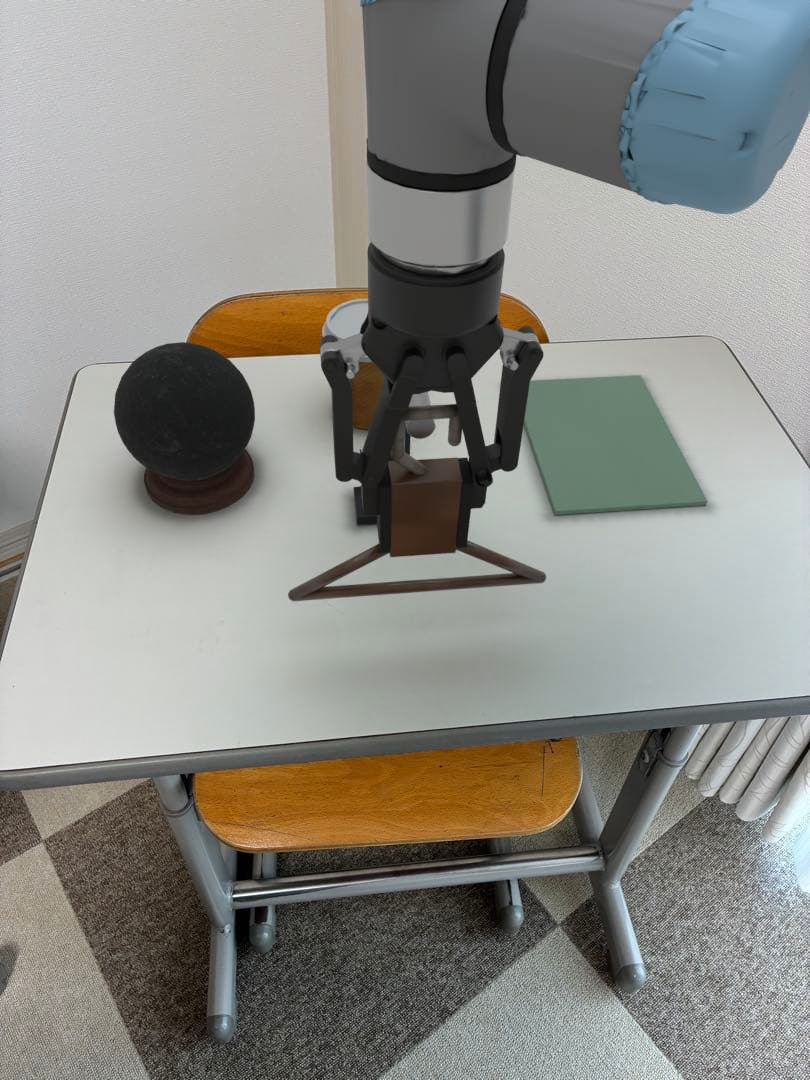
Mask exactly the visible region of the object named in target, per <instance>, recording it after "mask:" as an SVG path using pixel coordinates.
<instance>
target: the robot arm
mask: <svg viewBox="0 0 810 1080" xmlns="http://www.w3.org/2000/svg"><path fill="white" fill-rule="evenodd" d="M359 2H360V3H359V5H360V6H359V7H361V13H362V14H361V15H362V28H363V29H362V33H363V34H362V35H363V52H364V53H363V55H364V73H365V93H366V94H365V95H366V124H367V137H366V140H365V142H366V226H367V227H366V233H367V236H368V240H369V241H370V243H368V246H367V252H366V253H367V299H368V314H367V317H366V319H365V321H364V322H363V324H362V326H361V329H360V333H359V334H356V335H353V336H350V337H348V338H345V339H342V340H338V339H337V337H335V336H333V335H326V336H324V337H323V336H322V337H321V339H320V341H319V354H320V355H319V356H320V367H321V371H322V373H323V376H324V377H325V380H326V381H327V383H328V385H329V387H330V390H331V410H332V411H331V414H332V436H333V437H332V439H333V458H334V469H335V471H334V472H335V478H336V480H337V481H339V482H341V483H348V482H350V481H352V480H355V481H358V483H360V484H361V491H362V505H363V512H364V513H365V515H366V516H373V515H377V524H376V529H377V539H378V544H379V547H380V553H388V554H389V553H390V545H391V486H390V479H389V472H388V465H387V461H388V458H389V455H390V452H391V449H392V446H393V443H394V441H395V438H396V435H397V432H398V429H399V426H400V423H401V420H402V417H403V414H404V411H407V409H408V407H409V404H410V401H411V398H412V395H413V394H421V393H425V392H428V393H429V392H437V393H442V394H448V393H449V394H450V393H453V396H454V401H455V404H457V408H458V412H459V417H460V421H461V425H462V435H463V438H464V442H465V446H466V451H467V455H468V457H457V458H458V461H459V465H460V469H461V474H462V478H463V484H462V494H461V504H460V514H459V524H458V534H457V544H456V547H457V548H465V547H467V540H468V541H469V530H470V522H471V521H470V520H471V513H472V509H475V510H476V509H482V508H483V507H484V505H485V504H486V499H487V492H488V487H491V485H493V483H494V482H493V481H494V478H493V473H494V472H497V471H500V470H501V471H503V472H506V473H509V472H513V471H514V470H516V469H517V468H518V466H519V460H520V453H521V446H522V438H523V433H524V432H523V431H524V427H525V425H524V419H525V412H526V405H527V398H528V391H529V385H530V381H532V378H533V377H534V375H535V373H536V371H537V369H538V367H539V366H540V364H541V362H542V361H543V358H544V351H543V348H542V346H541V344H540V342H539V339H538V336H537V334H536V331H535V329H534V328H533V327H532V326H530V325H529V326H528V325H525V326H522V327H519V328H518V329H517V330H514V329H511V328H507V327H505V326H504V327H503V326H502V325H501V320H500V318H499V308H500V304H501V303H500V301H501V293H502V285H503V278H504V277H503V275H504V268H505V261H506V255H505V251H504V247H505V244H506V243H507V241H508V235H509V225H510V217H511V208H512V200H513V199H512V198H513V191H514V190H513V189H514V180H515V172H516V171H515V169H516V164H517V156H519V157H525V158H530V159H532V160H534V161H535V160H536V161H539V162H540V163H541V162H542V163H545V164H548V165H551V166H554V167H556V168H559V169H563V170H566V171H569V172H572V173H574V174H578V175H581V176H584V177H588V178H589V179H590V178H591V179H593V180H596V181H600V182H601V183H602V182H603V183H604V184H605V183H606V184H608V185H611V186H615V187H618V188H620V189H624V190H627V191H630V192H632V193H635V194H636V195H637V196H640V197H643V198H644V200H647V201H649V202H651V203H655V202H656V203H658V204H661V205H665V206H667V205H668V206H669V205H677V206H682V207H685V208H690V209H696V210H699V211H704V212H710V213H714V214H718V215H732V214H733V215H734V214H736V213H740V212H742V211H744V210H747V209H748V208H750V207H751V206H753V205H754V204H756V203H757V202H758V201H759V200H760V199H761V198H762V197H763V196H764V195H765V194H766V193H767V191H768V190H769V189H770V187H771V186H772V184H773V182H774V180H775V178H776V176H777V175H778V172H779V171H780V170H782V169H783V167H784V166H785V164H786V163H787V161H788V159H789V157H790V155H791V154H792V152H793V150H794V148H795V146H796V144H797V142H798V139H799V137H800V135H801V132H802V130H803V128H804V126H805V124H806V122H807V119H808V117H809V114H810V0H359ZM498 350H499V356H500V359H501V363H502V368H501V376H500V386H499V395H498V403H497V412H496V420H495V421H496V422H495V430H494V438H493V443H492V444H488V445H486V441H485V437H484V432H483V429H482V423H481V420H480V415H479V409H478V404H477V399H476V394H475V390H474V385H473V380H472V379H473V378H474V377H475V375H476V374H477V373H478V372H479V371H481V369H482V368H483V367H484V366H485V365H486V363H488V361H489V360H490V359H491V358H492V357H493V356H494V355H495V354H496V353H497V351H498ZM365 355H367V356H368V358H369V359H370V360H371V361H372V362H373V363H374V364H375V365H376V366H377V368H378V369H379V370H380V371H381V372H382V373H383V374H384V376H383V385H382V388H381V391H380V395H379V398H378V401H377V404H376V408H375V411H374V414H373V417H372V421H371V424H370V427H369V429H367V430H368V431H367V434H366V438H365V440H364V443H363V446H362V449H360V448H359V452H357V451H354V427H353V397H352V386H351V379H352V378H354V377H355V374H357V373H358V371H359V361H360V359H361V358H362V357H363V356H365Z"/></svg>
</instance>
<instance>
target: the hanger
mask: <svg viewBox="0 0 810 1080" xmlns="http://www.w3.org/2000/svg"><path fill="white" fill-rule="evenodd" d="M429 419H434V420H445V419H448V429H447V442H448V445H450V446H451V447H458V446H460V445H461V442H462V435H463V430H462V425H461V421H460V417H459V412H458V408H457V404H456V403H447V404H431V405H427V406H409V407H408V409H407V411H404V414H403V417H402V420H401V423H400V426H399V429H398V432H397V435H396V438H395V441H394V443H393V446H392V449H391V457H392V459H393V460H394V461H388V463H387V465H388V472H389V479H390V486H391V545H390V553H380V547H379V543H377V544H375V545H373V546H371V547H369V548H368V549H365V550H364V551H362V552H360V553H358V554H356V555H354V556H353V557H351V558H349V559H346V560H345V561H343V562H340V563H339V564H337V565H335V566H333V567H332V568H329V569H328V570H326V571H324V572H322V573H320V574H318V575H316V576H314V577H311V579H309V580H307V581H304V582H303V583H301V584H299V585H298V586H295V587H293V588H291V589H290V590H288V593H287V597H288V599H289V601H291V602H304V601H319V600H331V599H332V600H333V599H345V598H346V599H347V598H358V597H359V598H361V597H373V596H387V595H401V594H413V593H427V592H439V591H440V592H442V591H454V590H455V591H456V590H467V589H482V588H497V587H509V586H511V587H512V586H522V585H523V586H524V585H535V584H537V585H538V584H543V583H545V581H546V580H547V574H546V573H545V572H544V571H542V570H540V569H537V568H535V567H532V566H531V565H528V564H525V563H523V562H520V561H518V560H516V559H514V558H511V557H509V556H506V555H504V554H502V553H499V552H497V551H494V550H492V549H489V548H487V547H484V546H482V545H480V544H477V543H475V542H473V541H470V540H469V539H468V540H467V547H465V548H457V547H456V544H457V534H458V524H459V514H460V504H461V494H462V484H463V478H462V474H461V469H460V465H459V461H458V458H459V457H441V458H440V457H439V458H424V459H423V458H422V459H416V458H415V457H413V456H412V455H411V454H410V455H408V454H407V453H406V452H405V421H411V420H429ZM457 551H458V552H461V553H463V554H465V555H468V556H470V557H473V558H475V559H477V560H480V561H483V562H485V563H488V564H490V565H492V566H495V567H497V568H500V569H503V570H505V571H506V572H508V573H495V574H494V573H493V574H481V575H480V574H479V575H466V576H454V577H453V576H452V577H437V578H423V579H410V580H409V579H408V580H397V581H385V582H384V581H383V582H369V583H355V584H342V585H341V584H340V585H330V584H332V583H335V582H337V581H338V580H341V579H342V578H344V577H346V576H348V575H350V574H351V573H353V572H356V571H358V570H359V569H362V568H363V567H365V566H367V565H369V564H371V563H373V562H375V561H377V560H379V559H381V558H382V557H385V556H387V555H388V554H389V557H390V558H399V557H400V558H401V557H415V556H416V557H417V556H429V555H430V556H431V555H445V554H455V553H457Z"/></svg>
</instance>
